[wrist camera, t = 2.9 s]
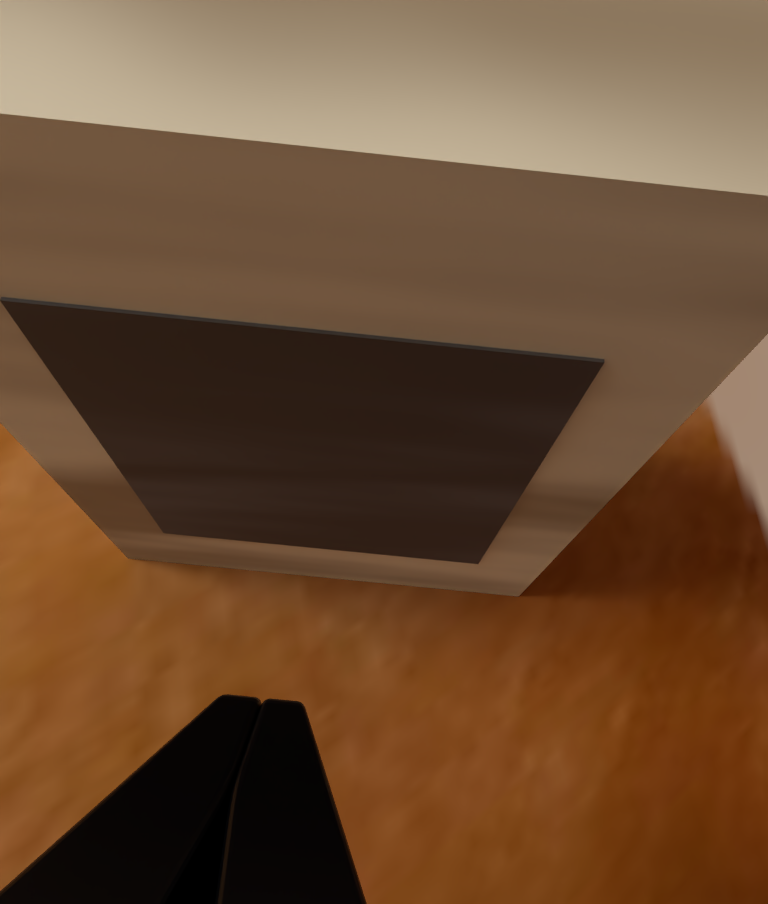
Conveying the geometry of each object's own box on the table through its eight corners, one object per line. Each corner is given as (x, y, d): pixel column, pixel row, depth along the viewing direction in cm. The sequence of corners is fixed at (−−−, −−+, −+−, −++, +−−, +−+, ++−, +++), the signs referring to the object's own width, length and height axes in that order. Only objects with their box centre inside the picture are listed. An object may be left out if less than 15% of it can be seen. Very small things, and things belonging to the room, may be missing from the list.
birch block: (518, 598, 17) (887, 213, 6) (127, 560, 17) (-326, 82, 5) (517, 426, 20) (778, -105, 8) (172, 391, 19) (-83, -203, 8)
